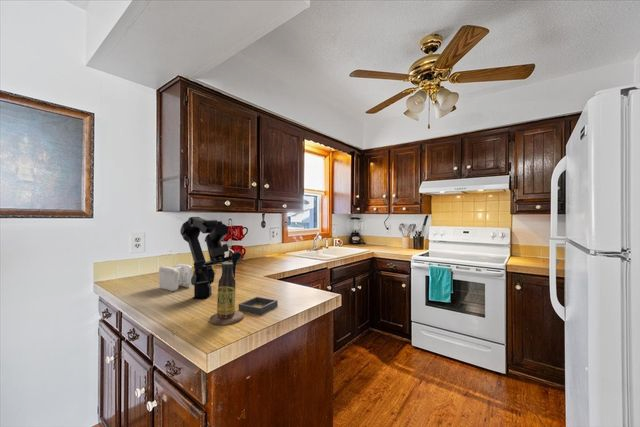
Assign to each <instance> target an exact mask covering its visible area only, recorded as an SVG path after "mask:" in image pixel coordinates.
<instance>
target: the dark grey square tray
mask: <svg viewBox="0 0 640 427" xmlns="http://www.w3.org/2000/svg"><path fill="white" fill-rule="evenodd" d="M257 304H260V305H263V306H261V307H259V306H254V305H257ZM278 306H279V305H278V299H273V298H267V297H262V296H254V297H253V298H250V299H248V300H245V301H243V302H240V303H239V304H238V311H239V312H243V313H244V312H245V313H249V314H255V315H259V316H261V315H263V313H264V314H265V313H268V312H269V311H271V310H273V309H275V308H277V307H278Z"/></svg>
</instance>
